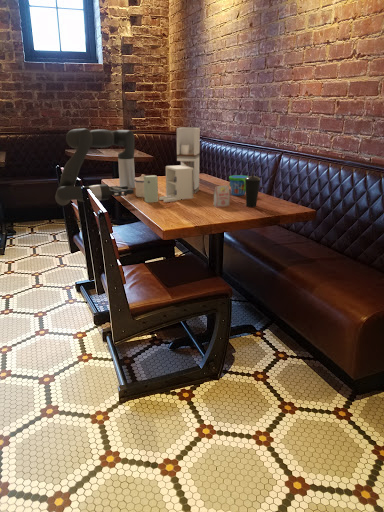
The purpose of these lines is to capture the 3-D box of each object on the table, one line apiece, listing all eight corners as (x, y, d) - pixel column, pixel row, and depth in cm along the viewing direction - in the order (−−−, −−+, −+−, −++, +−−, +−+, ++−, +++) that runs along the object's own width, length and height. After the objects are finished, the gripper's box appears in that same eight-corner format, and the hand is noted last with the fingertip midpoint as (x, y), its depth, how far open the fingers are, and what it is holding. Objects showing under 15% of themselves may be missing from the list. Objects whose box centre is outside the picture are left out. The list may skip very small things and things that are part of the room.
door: (144, 201, 209) (143, 176, 204) (155, 200, 212) (154, 175, 207) (148, 203, 205) (147, 177, 201) (158, 201, 208) (158, 176, 203)
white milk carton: (213, 205, 201) (214, 185, 197) (226, 204, 203) (226, 184, 199) (216, 207, 197) (216, 187, 194) (229, 206, 200) (229, 186, 196)
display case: (181, 188, 242) (181, 127, 229) (199, 189, 240) (199, 127, 227) (177, 192, 231) (176, 128, 219) (195, 193, 229) (195, 128, 217)
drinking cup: (241, 204, 203) (243, 164, 196) (256, 204, 204) (259, 164, 197) (245, 208, 196) (247, 166, 189) (260, 207, 197) (263, 166, 190)
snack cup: (223, 192, 231) (224, 174, 228) (240, 191, 235) (241, 173, 231) (235, 198, 217) (236, 179, 214) (253, 196, 221) (254, 178, 217)
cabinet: (152, 196, 219) (151, 167, 214) (182, 193, 227) (182, 165, 222) (164, 202, 207) (163, 170, 201) (194, 198, 215) (195, 168, 209)
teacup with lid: (153, 197, 219) (152, 175, 215) (136, 197, 217) (135, 176, 213) (150, 192, 230) (149, 172, 226) (134, 193, 228) (133, 172, 224)
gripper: (102, 187, 187) (135, 184, 194) (93, 182, 199) (125, 180, 206) (103, 203, 190) (135, 199, 197) (95, 197, 201) (126, 194, 209)
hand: (130, 189), depth 201 cm, fingers open, 8 cm apart
